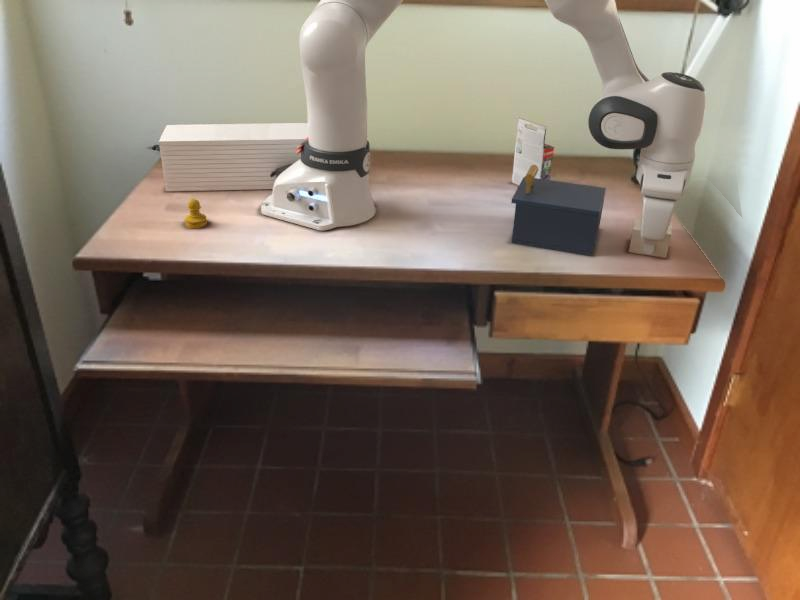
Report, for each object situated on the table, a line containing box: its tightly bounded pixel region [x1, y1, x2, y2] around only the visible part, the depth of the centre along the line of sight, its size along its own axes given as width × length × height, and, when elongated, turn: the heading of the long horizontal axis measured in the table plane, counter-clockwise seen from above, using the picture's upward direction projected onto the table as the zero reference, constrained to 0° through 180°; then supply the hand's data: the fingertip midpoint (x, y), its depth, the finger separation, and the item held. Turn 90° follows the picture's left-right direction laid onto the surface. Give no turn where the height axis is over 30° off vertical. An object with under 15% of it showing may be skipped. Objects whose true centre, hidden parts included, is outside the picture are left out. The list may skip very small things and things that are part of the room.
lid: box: [511, 165, 607, 216], centre depth 136 cm, size 15×12×5 cm
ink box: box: [511, 117, 555, 187], centre depth 158 cm, size 4×8×15 cm, turn 39°
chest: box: [511, 194, 606, 257], centre depth 139 cm, size 15×12×8 cm
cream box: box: [628, 218, 673, 259], centre depth 136 cm, size 6×5×5 cm
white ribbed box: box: [158, 122, 308, 192], centre depth 159 cm, size 32×11×11 cm, turn 96°
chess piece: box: [184, 198, 208, 229], centre depth 141 cm, size 4×4×5 cm
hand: (648, 243), depth 136 cm, fingers open, 5 cm apart
